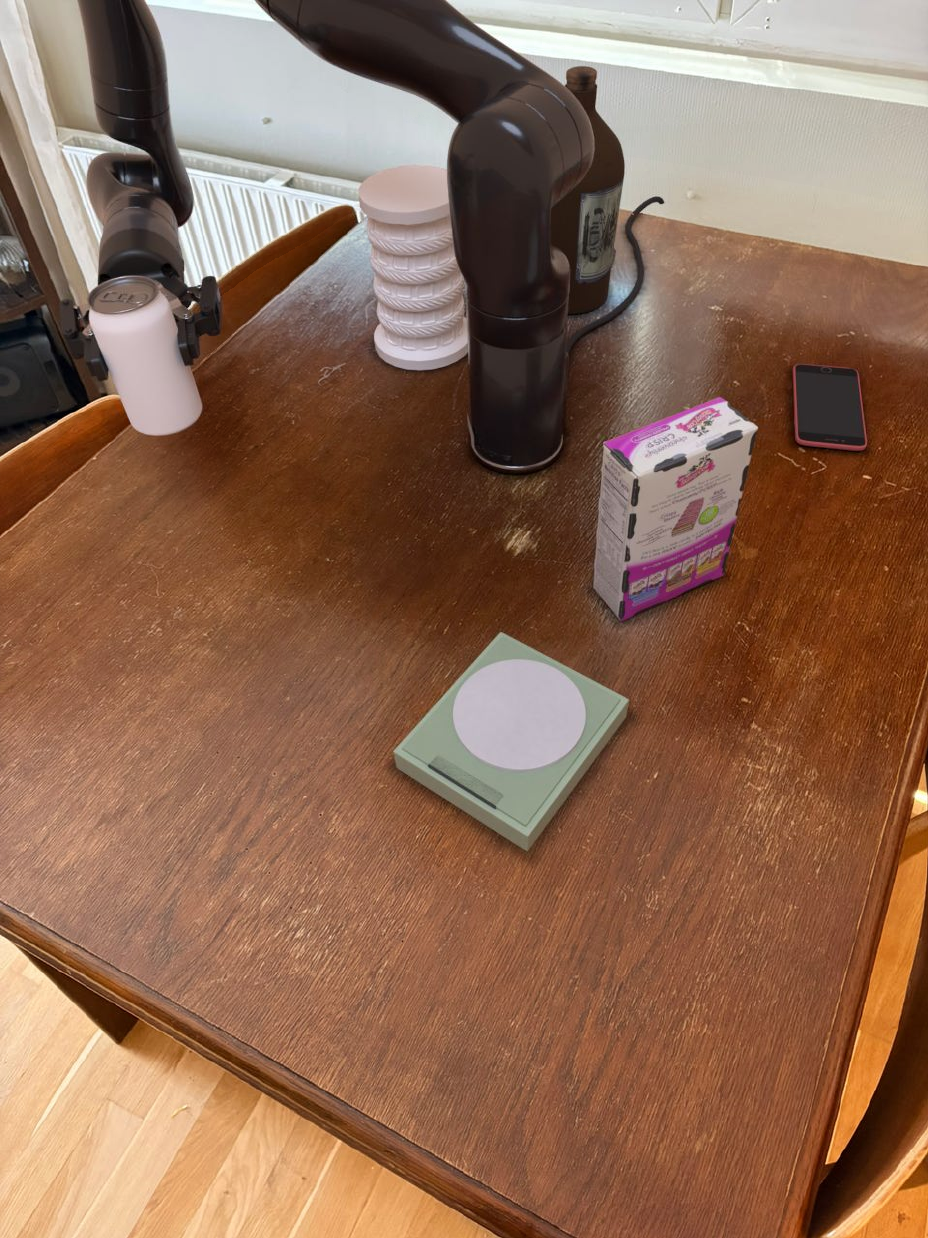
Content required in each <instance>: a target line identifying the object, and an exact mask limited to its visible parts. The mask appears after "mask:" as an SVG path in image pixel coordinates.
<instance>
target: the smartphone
mask: <svg viewBox="0 0 928 1238" xmlns="http://www.w3.org/2000/svg"><path fill="white" fill-rule="evenodd" d="M861 390H862V389H861V381H860V373H859V371H858V370H857V369H855V368H852V367H844V366H834V365H833V366H832V365H820V364H808V363H797V364H795V365H794V366H793V367H792V391H793V392H792V394H793V419H794V420H793V425H794V440H795V442H796V443H797V444H799V445H801V446H805V447H815V448H824V449H825V448H826V449H833V450H844V451H852V452H853V451H854V452H855V451H856V452H861V451H864V450H866V448H867V446H868V437H867V430H866V422H865V421H866V420H865V415H864V406H863V405H864V404H863V399H862V398H863V396H862V391H861Z"/></svg>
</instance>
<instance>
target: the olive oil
mask: <svg viewBox="0 0 928 1238" xmlns="http://www.w3.org/2000/svg"><path fill="white" fill-rule="evenodd" d="M597 77H598V71H597V70H596V68H594V67H591V66H589V65H588V66H586V65H578V66H577V65H576V66H572V67H570V68H568V69H566V73H565V80H566V83H565V85H564V86H565V87H566V88H567V89H568V90H569V91H570V92H571V93H572V94H573V95H574V96H575V97H576V98H577V100H578V101H579V102H580V104H581V105H582V107H583V108H584V110H585V112H586V114H587V116H588V118H589V121H590V123H591V126H592V131H593V135H594V148H595V150H594V156H593V161H592V164H591V167H590V169H589V171H588V172H587V174H586V175H585V177H584V178H583V179H582V180H581V182H580V183H579V184H578V185H577V186H576V187H574V188H573V189H572V190H571V191H570V192H569V193H568V194H567V195H566V196H565V197H564V198H562V199H561V200H560V201H559V202H558V203H557V204H556V205H554V206H553V207H552V208H551V216H550V242H551V245H554V246H555V247H557V248H559V249H560V250H561V251H562V252H563V253H564V254H565V256H566V257H567V259H568V261H569V265H570V289H569V303H568V315H580V314H586V313H589V312H592V311H594V310H597V309H598V308H600V307H602V305H603V304H605V302H606V301H607V299H608V297H609V290H610V283H611V282H610V281H611V273H612V268H613V266H614V265H615V260H616V254H617V250H616V249H615V244H616V243H615V242H616V236H617V230H618V229H617V228H618V221H619V214H620V207H621V200H622V195H623V187H624V180H625V169H626V166H625V165H626V164H625V163H626V162H625V156H624V150H623V148H622V144H621V142H620V140H619V138H618V136H617V135H616V134H615V132H614V131H613V130H612V128H611V127H610V126H609V125H608V124H607V123H606V121H605V120H604V119H603V118H602V116H601V115H600V114H599V112H598V111H597V108H596V104H597V93H598V84H597V82H596V81H597Z"/></svg>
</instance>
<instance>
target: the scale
mask: <svg viewBox="0 0 928 1238" xmlns="http://www.w3.org/2000/svg"><path fill="white" fill-rule="evenodd" d="M629 702H630V699H629V698H627V697H625V696H624V695H622V694H620V693H618V692H616V691H614V690H612V689H610V688H608V687H607V686H604V685H603V684H601V683H599V682H597V681H596V680H593V679H592V678H590V677H587V676H585V675H583V674H582V673H580V672H578V671H576V670H574V669H572V668H570V667H569V666H567V665H566V664H565V665H564V664H563V663H561V662H559V661H557V660H555V659H553V658H551V657H549V656H548V655H545V654H544V653H542V652H540V651H538V650H536V649H535V648H533V647H530V646H529V645H526V644H525V643H523V642H522V641H519V640H517V639H516V638H514V637H513V636H509V635H508V634H506V633H504V632H502V631H500V632H499V633H498V634H497V635H496V636H495V637H494V638H493V639H492V641H491V642H490V643H488V645H487V646H486V647H485V648H484V650H483V651H482V652H481V653H480V654H479V655H478V656H477V657H476V659H475V660H473V662H472V663H471V664H470V665H469V666H468V667H467V669H466V670H464V671H463V673H462V674H461V675H460V676H459V678H458V679H456V681H455V682H454V683H453V684H452V685H451V686H450V688H448V689H447V690H446V692H444V694H443V695H442V696H441V697H440V698H439V700H438V701H437V702H436V703H435V704H434V705H433V706H432V707H431V709H429V711H428V712H427V713H426V714H425V715H424V716H423V717H422V719H420V721H419V722H418V723H417V724H416V725H415V726H414V727H413V729H412V730H410V732H409V733H408V734H407V735H406V736H405V737H404V738H403V740H402V741H401V742H400V743H399V744H398V745H397V746H396V747H395V749H394V750H393V751H392V752H393V757H394V763H395V767H396V769H397V770H398V771H401V772H402V773H403V774H405V775H407V776H408V777H410V778H411V779H413V780H414V781H416V782H417V783H419V784H420V785H422V786H424V787H425V788H427V789H429V790H430V791H431V792H433V793H435V794H436V795H438V796H440V797H441V798H443V799H444V800H446V801H447V802H449V803H450V804H452V805H454V806H455V807H456V808H458V809H460V810H461V811H463V812H465V813H466V814H467V815H469V816H471V817H472V818H474V819H475V820H477V821H479V822H480V823H481V824H483V825H485V826H486V827H488V828H489V829H491V830H493V831H494V832H496V833H497V834H498V835H500V836H502V837H503V838H505V839H507V840H508V841H509V842H511V843H513V844H514V845H516V846H518V847H519V848H521V849H522V850H524V851H525V852H529V851H530V849H531V848H532V846H533V845H534V844H535V842H536V841H537V839H538V838H539V837H540V835H541V834H542V833H543V831H544V830H545V828H546V827H547V826H548V825H549V823H550V822H551V821H552V819H553V818H554V817H555V815H556V814H557V813H558V811H559V809H561V807H562V805H563V804H564V803H565V801H566V800H567V798H569V796H570V795H571V793H572V792H573V791H574V789H575V788H576V786H577V785H578V783H580V781H581V780H582V778H583V777H584V775H586V773H587V772H588V770H589V769H590V767H591V766H592V764H593V763H594V762H595V761H596V760H597V758H598V757H599V755H600V753H601V752H602V751H603V749H604V748H605V747H606V745H607V744H608V743H609V742H610V740H611V739H612V737H613V736H614V735H615V733H616V732H617V730H618V729H619V728H620V726H621V725H622V724H623V722H624V721H625V719H626V718H627V714H628V709H629Z"/></svg>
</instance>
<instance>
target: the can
mask: <svg viewBox="0 0 928 1238" xmlns="http://www.w3.org/2000/svg"><path fill="white" fill-rule="evenodd" d="M86 302H87V303H86V304H88V305H89V307H90V311H89V321H90V323H89V324H90V325H91V327H92V330H93V333H94V335H95V338H96V340H97V343H98V345H99V348H100V350H101V352H102V355H103V357H104V360H105V362H106V365H107V367H108V373H109V375H110V377H111V380H112V382H113V384H114V387H115V389H116V392H117V395H118V396H119V399H120V401H121V403H122V406H123V409H124V411H125V414H126V415H127V418H128V420H129V422H130V425H131V426H132V428H133V429H134V430H135V431H137V432H139V433H141V434H143V435H145V436H148V437H153V438H163V437H164V438H166V437H171V436H175V435H177V434H178V435H179V434H181V433H182V432H185V431H186V430H188V429H190V428H192V427H193V426H194V425H195V424H196V423H197V422H198V420H199V419H200V416H201V414H202V412H203V402H202V398H201V396H200V393H199V390H198V386H197V382H196V381H195V377H194V374H193V371H192V368H191V365H190V366H185V365H184V362H183V359H182V356H181V353H180V350H179V346H178V338H177V334H178V328H177V325H176V322H175V319H174V316H173V313H172V310H171V307H170V304H169V302H168V300H167V299H166V297H165V296H164V295H163V294H162V293H161V292H160V291H159V288H158V285H157V283H156V282H155V281H154V280H152V279H150V278H148V277H144V276H123V277H118V278H114V279H111V280H108V281H106V282H103V283H101V284H100V285H98V284H97V286H95V287H94V288H93V289H92V290H91V291H90V292H89V293H88V295H87V297H86Z"/></svg>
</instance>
